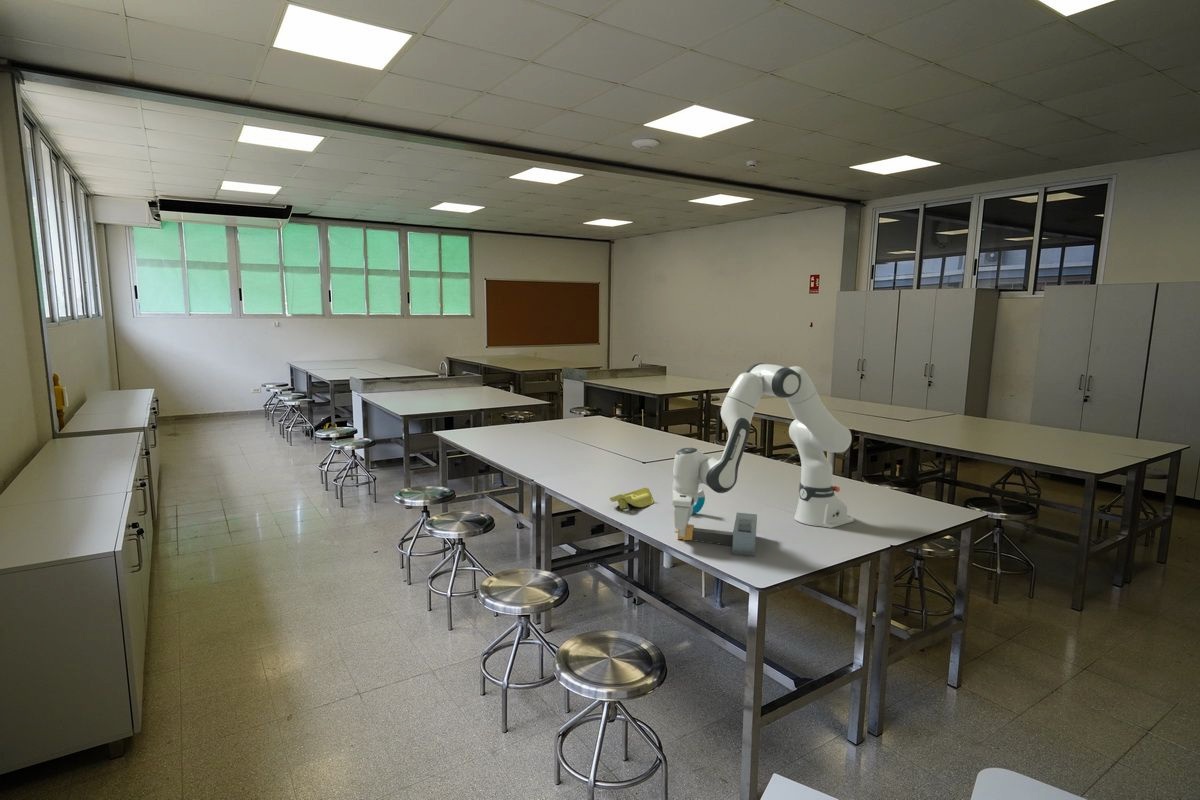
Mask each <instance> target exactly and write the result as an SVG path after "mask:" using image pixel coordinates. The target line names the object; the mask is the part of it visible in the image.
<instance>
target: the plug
mask: <svg viewBox="0 0 1200 800" xmlns="http://www.w3.org/2000/svg"><path fill="white" fill-rule="evenodd" d="M685 531H686V532H685V536H684V537H681V536H680V530H679V529H677V528H675V530H674V534H675V533H676V534H677V540H678V539H683V540H682V541H685V540H697V541H696V542H699V541H704V542H703V543H707V542H712V543H711V544H715V543H720V544H719V545H724V544H727V545H726V546H732V545H733V531H727V530H719V529H718V530H717V529H708V528H700V527H695V524H689V523H688V524H687V526H686V529H685Z"/></svg>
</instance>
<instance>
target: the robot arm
mask: <svg viewBox="0 0 1200 800" xmlns="http://www.w3.org/2000/svg"><path fill="white" fill-rule="evenodd" d="M764 395H765V396H771V397H777V398H782V399H785V401H786V402H787V405H788V406H789V409H790V411H791V413H792V415H793V417H794V418H795V419H793V421H792V422H791V423H790V424H789V427H788V435H789V438H790V439H791V441H792V442H793V443H794V445H795V446H796V449H797V451H798V455H799V458H800V463H801V464H800V465H801V468H800V469H801V470H800V471H801V472H800V473H801V474H800V482H799V487H798V494H799V495H798V500H797V507H796V510H795V513H794V514H795V515H794V517H793V518H794V520H795V521H797V522H799V523H802V524H803V525H804V524H805V525H808V526H809V525H810V526H813V527H814V526H815V527H825V528H830V529H833V528H836V527H839V526H843V525H846V524H849V523H853V522H854V517H853V516H850V515H849V514H848V507H847V504H846V503H845V502H844V501H842V500H841V499H840V498H838V496H836V495H835V494H836V493H839V492H840V491H841V488H840V486H837V485H832V481H833V465H832V462H830V461H829V460H828V459H827V457H826V455H825V452H826V453H827V452H828V453H844V452H846V450H848V449H849V448H850V447H851V444H852V439H853V438H852V433H851V430H850V429H849V428H848V427H846V426H845V425H843V424H842V423H840V422H839V421H838V420H837V419H836V418H835V417H834V416H833V415H832V414H831V412H829V410H828V409H827V408H826V407H825V405H824V403H823V402H822V400H821V397H820V395H819V393H818V390H817V389H816V387H815V384H814V383H813V380H812V379H811V377H810V376H809V374H808V373H807V372H806V370H805V369H804V368H803V367H801V366H798V365H797V366H796V365H794V366H789V367H785V366H783V365H782V366H781V365H778V364H769V363H762V362H760V363H759V362H758V363H754V364H752V365H750V366H749V368H748V369H746V371H745V372H741V373H740V374H739V375H738V376H737V377H736V379H735V380H734V382H733V383H732V384H731V386H730V388H729V390H728V392H727V394H726V395H725V398H724V400H723V402H722V404H721V408H720V417H721V420H722V422H723V423H724V425H725V426H726V428H727V431H728V439H727V441H726V444H725V447H724V449H723V452H722V455H721V458H720V459H717V458H715V457H713V456H710V455H708V454H705V453H702V452H701V451H700V450H698V449H697V448H696V447H683V448H681V449H679V450H677V451H676V453H675V456H674V459H673V467H672V469H673V471H672V473H673V482H672V497H671V500H672V501H671V502H672V504H671V505H672V506H673V519H674V520H673V522H674V528H675V529H676V528H677V529H679V530H680V536H681V537H684V536H685V532H686V531H685V529H686V526H687V524H689V522H690V519H691V517H692V515H693V514H692V512H693V505H695V504H696V503H697V501H698V491H699V486H700V484H704V485H706V486H707V487H708V488H710V489H711V490H712V491H714V492H715V493H718V494H724V493H728V492H729V491H731V490H732V489H733V488H734V487H735V485H736V483H737V481H738V475H739V474H738V472H739V466H740V464H741V461H742V457H743V456H744V455H743V454H744V451H745V449H746V445H747V443H748V439H749V437H750V433H751V422H752V419H753V417H754V414H755V411H756V409H757V406H758V404H759V403H760V400H761V398H763V396H764ZM835 492H836V493H835Z"/></svg>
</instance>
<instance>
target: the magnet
mask: <svg viewBox="0 0 1200 800" xmlns="http://www.w3.org/2000/svg"><path fill="white" fill-rule="evenodd" d="M705 500H706V497H705V491H704V489H702V488H701V489H700V490H698V501H697V502H695V503H694V505H693V512H692V515H695V514H697V513H699V512H700V511H701V510H702V508H703V507H704V505H705Z"/></svg>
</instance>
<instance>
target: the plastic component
mask: <svg viewBox="0 0 1200 800" xmlns="http://www.w3.org/2000/svg"><path fill="white" fill-rule="evenodd" d="M609 500H610V501H611V502H612V503H613V502H617V503H618V507H619V509H620V510H622V509H626V508H629V504H630V505H631V506H633V507H636V508H644V507H648V506H650V505H653V504H654V502H655V501H654V497H653V495H652V493H651V491H650V488H648V487H643V488H639V489H636V490H634V491H631V492H627V493H624V494H623V493H620V494H618V495H615V496H612V497H609Z"/></svg>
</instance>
